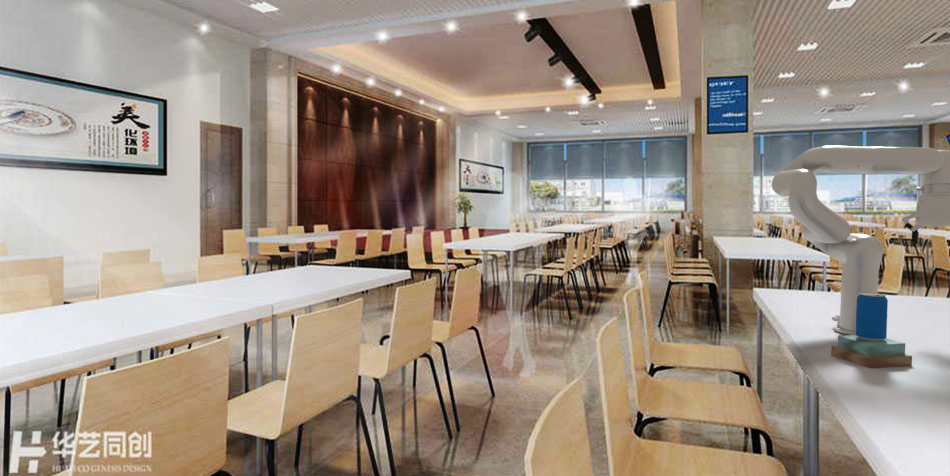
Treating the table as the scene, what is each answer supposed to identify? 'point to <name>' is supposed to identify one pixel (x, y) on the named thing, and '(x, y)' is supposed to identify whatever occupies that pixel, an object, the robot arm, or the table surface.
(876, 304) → the beverage can
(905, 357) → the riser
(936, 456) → the table surface
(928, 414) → the table surface
